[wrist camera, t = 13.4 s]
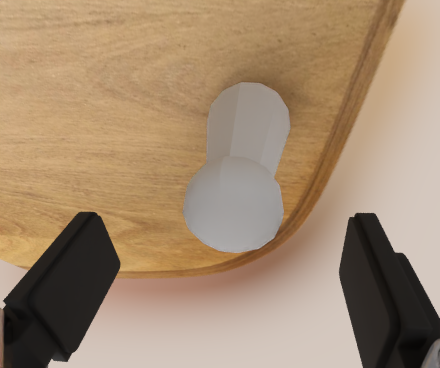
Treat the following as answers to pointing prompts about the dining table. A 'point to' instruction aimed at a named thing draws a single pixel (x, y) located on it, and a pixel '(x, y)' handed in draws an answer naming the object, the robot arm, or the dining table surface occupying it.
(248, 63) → the dining table surface
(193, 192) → the salt shaker
